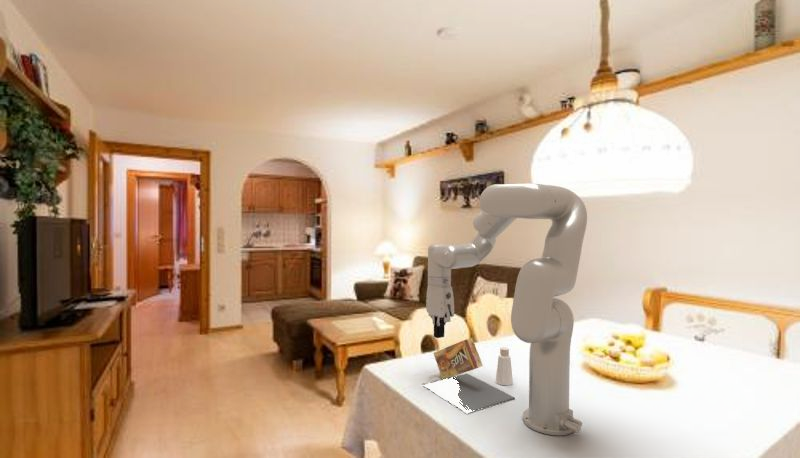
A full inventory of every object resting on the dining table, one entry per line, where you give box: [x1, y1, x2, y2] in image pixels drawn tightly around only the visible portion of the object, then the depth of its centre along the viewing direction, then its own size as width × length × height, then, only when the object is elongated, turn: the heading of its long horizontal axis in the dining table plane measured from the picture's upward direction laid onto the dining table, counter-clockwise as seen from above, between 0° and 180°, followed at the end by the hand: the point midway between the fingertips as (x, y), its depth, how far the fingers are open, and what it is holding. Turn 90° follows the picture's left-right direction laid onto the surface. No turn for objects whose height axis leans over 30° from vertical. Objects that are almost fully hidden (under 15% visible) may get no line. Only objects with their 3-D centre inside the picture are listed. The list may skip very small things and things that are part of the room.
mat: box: [452, 372, 516, 411], centre depth 117 cm, size 21×18×1 cm
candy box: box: [433, 337, 484, 379], centre depth 124 cm, size 9×4×15 cm
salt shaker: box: [495, 346, 514, 387], centre depth 124 cm, size 5×5×11 cm
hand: (439, 336), depth 129 cm, fingers closed
